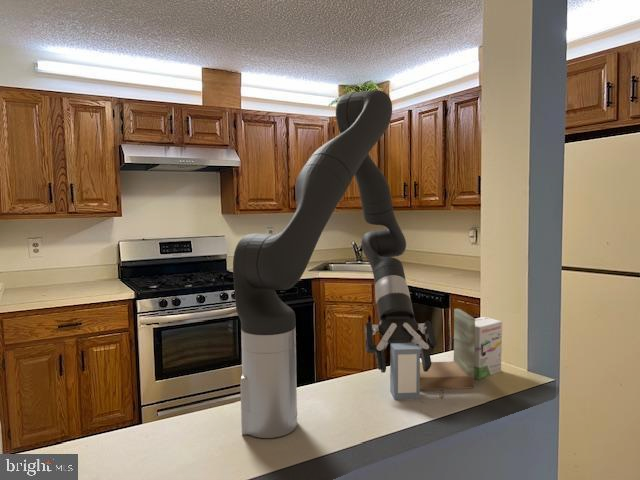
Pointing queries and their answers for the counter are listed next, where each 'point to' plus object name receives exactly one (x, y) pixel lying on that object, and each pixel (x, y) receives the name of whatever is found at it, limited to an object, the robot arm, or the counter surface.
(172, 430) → the counter surface
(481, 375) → the ink box
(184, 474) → the counter surface
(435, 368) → the bookend
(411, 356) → the grey block
